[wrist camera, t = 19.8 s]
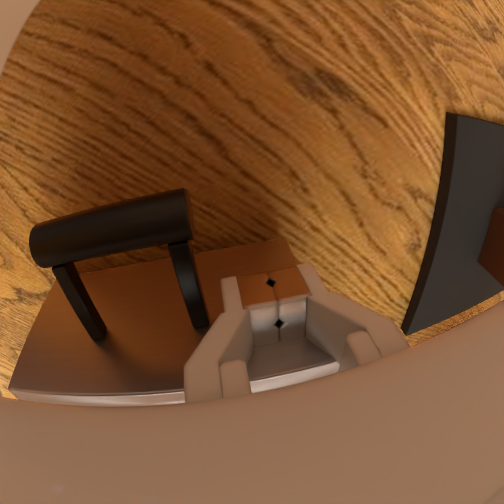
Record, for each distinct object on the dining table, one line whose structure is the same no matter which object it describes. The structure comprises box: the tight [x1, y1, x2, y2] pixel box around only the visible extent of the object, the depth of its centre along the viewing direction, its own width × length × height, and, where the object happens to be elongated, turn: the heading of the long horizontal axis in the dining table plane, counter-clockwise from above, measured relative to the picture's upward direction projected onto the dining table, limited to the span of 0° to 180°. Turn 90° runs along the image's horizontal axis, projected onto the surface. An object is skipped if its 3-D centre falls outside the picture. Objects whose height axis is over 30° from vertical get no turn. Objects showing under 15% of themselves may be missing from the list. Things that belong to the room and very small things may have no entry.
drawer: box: [8, 188, 340, 407], centre depth 13 cm, size 18×12×7 cm
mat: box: [401, 112, 504, 336], centre depth 17 cm, size 18×18×1 cm
